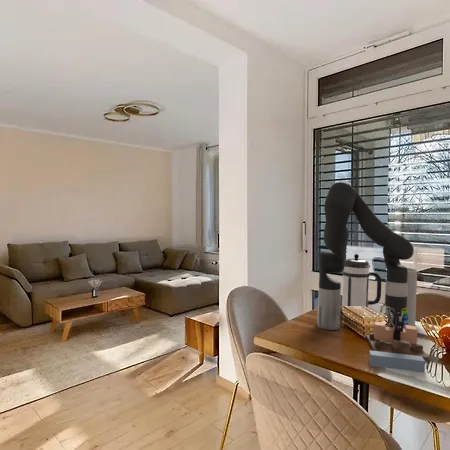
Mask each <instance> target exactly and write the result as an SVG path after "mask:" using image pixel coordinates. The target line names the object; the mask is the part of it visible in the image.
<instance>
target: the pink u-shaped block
mask: <svg viewBox="0 0 450 450" xmlns="http://www.w3.org/2000/svg"><path fill="white" fill-rule="evenodd" d="M373 323H374V326H373V328H374V329H373V333H374V338H375V339H376V340H383V341H391V342H392V339H393V327H390V326H386V323H385V322H382V321H374V322H373ZM385 326H386V327H385ZM400 340H406V341H408V342H409V343H410V344H418V328H417V325H416V326H415V325H414V326H410V325H405V329H403V332H400Z"/></svg>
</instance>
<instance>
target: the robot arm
mask: <svg viewBox="0 0 450 450" xmlns="http://www.w3.org/2000/svg"><path fill="white" fill-rule="evenodd" d="M323 208H324V216H325V224H324V230H323V243H324V245H325V247H326V248H327V249H328V250H329V251H328V250H325V251H321V252H320V253H319V257H318V267H319V268H318V270H319V271H318V273H319V274H318V275H319V276H318V277H319V278H318V299H317V300H318V301H317V321H316V323H317V328H318V329H319V328H320V329H323V330H331V331H333V330H334V331H335V330H339V329H340V325H341V319H340V318H341V310H340V309H341V294H342V293H341V292H342V290H341V289H342V286H341V285H342V284H341V282H340V281H338V280H337V279H334V278H332V277H330V276H329V275H328V273H331V274H333V273H334V274H341V273H343V270H344V267H345V260H346V254H347V253H346V252H347V246H348V243H349V236H350V230H349V226H348V225H347V224H348V220H349V218H350V215H351V213H353V214H354V216H355V218H356V219H357V221H358V223H359V226H360V228H361V230H362V231H363V233H364V234H365V235H366V236H367V237H368V238H369V239H370V240H371V241H372V242H374V243H375V244H376V245H378V246H380V247H382V255H383V259H384V265H385V268H386V277H387V281H386V283H385V288H384V291H385V292H384V306H385V305H386V306H388V308H387V309H388V323H387V324H388V327H393V339H394V340H400V332H403V326H404V319H405V318H404V317H403V313H402V312H401V309H402V308H406V307H407V299H408V285H407V279H408V270H407V268H408V267H406V266H405V265H403V264H401V261H400V260H402V261H405V260H409V259H412V257H413V256H414V253H415V249H414V246H413V244H412V243H411V242H410V241H409V240H408V239H407V238H405V237H403V235H402V236H401V235H400V234H398V233H396V232H395V231H393V230H391V228H389V226H387V225H386V224H385V223H384V222H383V221H381V220H380V218H378V216H377V215H376V214H375V213H374V212H373V210H371V208H370V207H369V206H368V204H367V203H366V202H365V200H363V198H362V196H360V194H359V193H358V191H356V189H355V188H354V187H353V186H352V185H351V184H348V183H346V182H342V181H341V182H335V183H333V184H332V185H331V186H330V188H329V189H328V192H327V196H326V198H325V201H324V207H323ZM397 326H399V328H397Z"/></svg>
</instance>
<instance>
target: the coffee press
mask: <svg viewBox="0 0 450 450" xmlns="http://www.w3.org/2000/svg"><path fill="white" fill-rule="evenodd" d="M353 257H354V258H348V259H345V267H344V270H343V271H342V296H341V299H342V300H341V302H342V303H341V305H342V306H340V311H341V309H342V310H343V306H366V307H368V308H369V306H370V305H377V304H378V303H379V302H380V300H381V297H382V279H381V276H380V275H379V274H378V273H376V272H373V271H372V272H371V271H370V268H371V265H370V263H369V262H368V261H367V260H366V259H361V258H359V257H360V255H359V254H357V253H355V254H354V255H353ZM370 277H375V279H376V284H377V285H376V298H375V299H374V300H369V286H370V285H369V282H370V281H369V280H370Z"/></svg>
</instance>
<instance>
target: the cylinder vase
mask: <svg viewBox="0 0 450 450" xmlns="http://www.w3.org/2000/svg"><path fill="white" fill-rule="evenodd" d="M406 268H407V270H408V279H407V285H408V299H407V309H406V310H407V311H408V314H407V315H408V317H409V318H408V320H409V323H408V325H410V326H413V325H414V326H415V325H416V311H417V310H416V309H417V287H418V285H417V284H418V269H415V268H410V267H406ZM385 280H386V281H387V276H386V279H385ZM384 307H385V309H384V311H385V312H384V317H385V316H387V318H388V309H387V308H388V306H386V305H385V304H384Z"/></svg>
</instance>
